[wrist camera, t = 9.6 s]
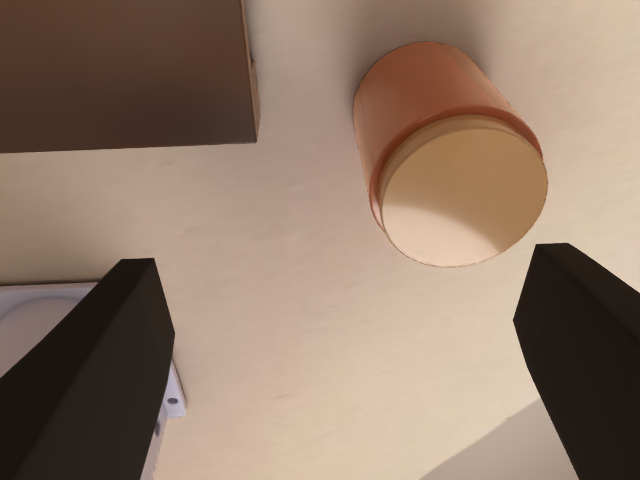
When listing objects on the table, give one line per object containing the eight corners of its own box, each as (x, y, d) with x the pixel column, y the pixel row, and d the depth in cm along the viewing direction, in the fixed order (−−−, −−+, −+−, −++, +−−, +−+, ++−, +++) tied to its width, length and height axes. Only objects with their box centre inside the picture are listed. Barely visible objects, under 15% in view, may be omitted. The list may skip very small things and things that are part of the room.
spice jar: (474, 165, 19) (533, 269, 14) (351, 170, 19) (369, 277, 14) (497, 37, 16) (579, 115, 11) (353, 43, 16) (376, 123, 11)
